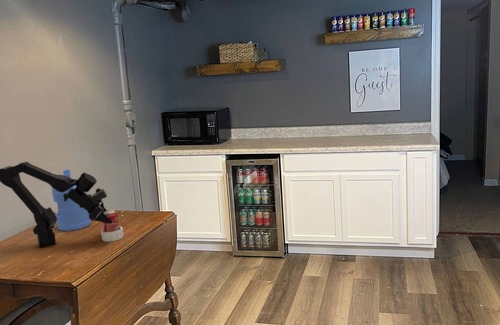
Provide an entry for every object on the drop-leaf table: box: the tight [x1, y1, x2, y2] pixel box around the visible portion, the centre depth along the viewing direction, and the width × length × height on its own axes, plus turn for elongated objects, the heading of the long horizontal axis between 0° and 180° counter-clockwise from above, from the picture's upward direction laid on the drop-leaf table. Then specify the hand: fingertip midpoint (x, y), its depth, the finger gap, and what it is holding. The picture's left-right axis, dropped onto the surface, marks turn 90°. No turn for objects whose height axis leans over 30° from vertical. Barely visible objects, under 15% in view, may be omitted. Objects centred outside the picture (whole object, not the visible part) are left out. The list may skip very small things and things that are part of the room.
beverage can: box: [102, 210, 119, 232], centre depth 211 cm, size 6×6×12 cm
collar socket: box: [100, 226, 124, 243], centre depth 212 cm, size 9×9×4 cm
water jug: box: [51, 169, 92, 232], centre depth 232 cm, size 16×16×28 cm
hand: (111, 219), depth 211 cm, fingers open, 9 cm apart
